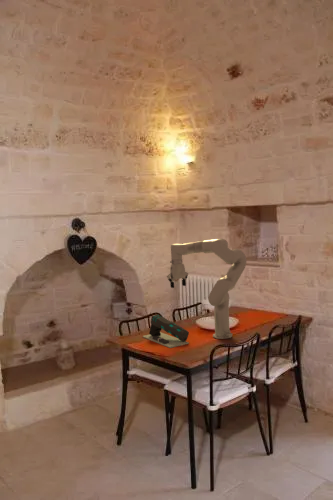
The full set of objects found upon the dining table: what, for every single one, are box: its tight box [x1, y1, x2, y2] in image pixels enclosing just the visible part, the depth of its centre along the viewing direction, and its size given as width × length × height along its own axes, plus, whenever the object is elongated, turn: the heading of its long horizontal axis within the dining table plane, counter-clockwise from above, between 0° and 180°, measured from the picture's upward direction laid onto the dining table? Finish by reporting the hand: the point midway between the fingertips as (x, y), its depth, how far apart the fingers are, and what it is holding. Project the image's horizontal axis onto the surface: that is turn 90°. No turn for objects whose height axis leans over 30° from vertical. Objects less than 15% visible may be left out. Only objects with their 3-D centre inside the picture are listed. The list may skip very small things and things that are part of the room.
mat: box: [142, 331, 190, 349], centre depth 315 cm, size 34×14×1 cm, turn 33°
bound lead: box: [153, 336, 169, 344], centre depth 311 cm, size 15×4×2 cm, turn 33°
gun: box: [148, 314, 190, 342], centre depth 316 cm, size 7×29×15 cm, turn 47°
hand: (178, 286), depth 329 cm, fingers open, 9 cm apart
